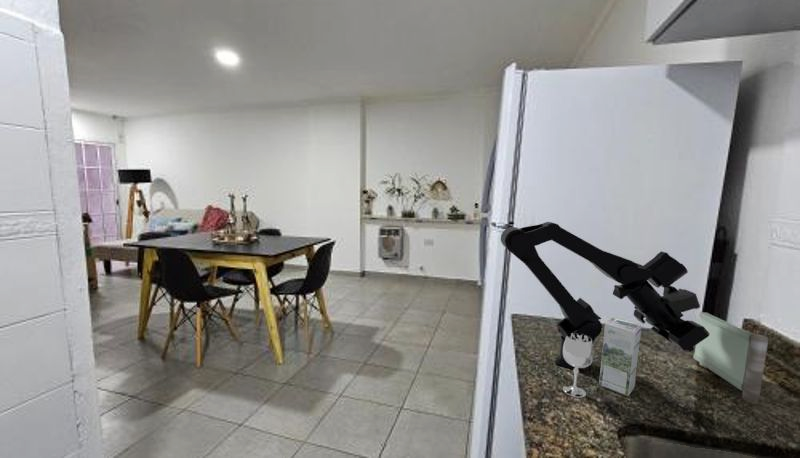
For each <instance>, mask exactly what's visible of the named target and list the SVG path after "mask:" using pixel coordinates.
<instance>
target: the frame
mask: <svg viewBox="0 0 800 458" xmlns="http://www.w3.org/2000/svg"><path fill="white" fill-rule="evenodd" d="M768 343H769V337H767V336H766V335H763V334H759V333H758V334H757V333H752V336H751V342H750V349H749V355H748V362H747V368H746V375H745V381H744V388H743V390H741V389H739V388H738V387H736V386H735V385H733V384H732V383H730V382H729V381H727V380H726V379H724V378H723V377H721V376H720V375H718V374H717V373H715V372H714V371H712V370H711V369H709V368H707V367H706V366H704V365H703V364H701V363H700V362H699V365H700V366H701V367H703V368H704V369H708V370H710V371H711V372H712V373H714V374H715V375H717V377H718V376H719V377H720V378H722V379H723V380H724V381H726V382H728V383H729V384H730V385H732V386H734V387H735V388H737V389H738V390H739V391H741V392H742V393H741V394H742V396H741V399H742V400H743V401H744V402H746V403H748V404H751V405H758V404H759V400H760V398H761V388H762V381H763V375H764V369H765V363H766V355H767V352H768V351H767V350H768Z"/></svg>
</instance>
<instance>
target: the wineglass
mask: <svg viewBox="0 0 800 458" xmlns="http://www.w3.org/2000/svg"><path fill="white" fill-rule="evenodd" d="M593 345H594V342H593V343H592V339H591V338H590V337H588V336H586V335H583V334H579V333H569V334H567V336H566V339H565V341H564V345H563V357H564V359H565V361H566V362H567V363H568V364H570V365H571V366H573V367H575V368H574V369H572V371H573V375H574V379H573V385H570V384H567V385H564V386H563V387H562V390H563V392H564V393H565V394H567V395H569V396H570V397H574V398H580V399H581V398H585V397H586V396H587V393H586V391H585V390H584V389H583V388H581V387H579V386H577V381H578V380H577V379H578V375H579V373H580V371H579V369H578V368H585V367H586V368H587V367H589V366H591V364H592V363H593V362H594V361H593V360H594V353H595V352H594V346H593Z"/></svg>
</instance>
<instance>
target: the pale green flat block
mask: <svg viewBox="0 0 800 458" xmlns="http://www.w3.org/2000/svg"><path fill="white" fill-rule="evenodd" d="M698 318H699V320H698V324H699V325H701V326H703V327H704V328H705V329H706V330H707V331H708V332H709V336H708V337H707V338H705V339H704V340H702V341H701V342H700V343H698V344H697V345H695V348H694V353H693V357H692V358H693V360H695V361H697V362H698V363H699V364H700V363H701V364H703V365H704V366H706V367H707V368H706V369H708V368H709V369H708V370H710V369H711V370H712V371H711V370H710V371H711V372H713V371H714V372H715V373H717V374H718V375H720V376H721V377H723V378H724V379H726V380H727V381H729V382H730V383H732V384H733V385H735V386H736V387H738V388H739V389H741V390H743V388H744V381H745V375H746V368H747V362H748V355H749V349H750V342H751V336H752V334H753V333H751V332H750V331H748V330H745V329H743V328H741V327H739V326H736V325H734V324H732V323H730V322H729V321H727V320H724V319H722V318H719V317H717V316H715V315H712V314H710V313H709V312H704V311H702V312H701V311H700V312H699V313H698ZM714 372H713V373H714ZM715 373H714V374H715ZM717 374H716V375H717ZM718 375H717V376H718ZM720 376H719V377H720ZM721 377H720V378H721ZM723 378H722V379H723ZM724 379H723V380H724ZM726 380H725V381H726ZM727 381H726V382H727ZM729 382H728V383H729ZM730 383H729V384H730ZM732 384H731V385H732ZM733 385H732V386H733ZM735 386H734V387H735ZM736 387H735V388H736ZM738 388H737V389H738ZM739 389H738V390H739ZM741 390H740V391H741Z"/></svg>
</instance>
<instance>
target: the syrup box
mask: <svg viewBox="0 0 800 458" xmlns="http://www.w3.org/2000/svg"><path fill="white" fill-rule="evenodd" d="M603 333H604V334H603V342H602V352H601V362H600V373H599V382H598V386H599V387H602V388H603V389H607V390H610V391H612V392H615V393H617V394H620V395H623V396H626V397H629V396H630V395H631V393H632V392H633V390H634V389H635V387H636V386H635V385H636V377H637V364H638V358H639V350H640V343H641V336H642V325H641V324H639V323H635V322H630V321H626V320H623V319H619V318H615V317H611V318H610V319H608V320H607V322H605V324H604V332H603Z"/></svg>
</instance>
